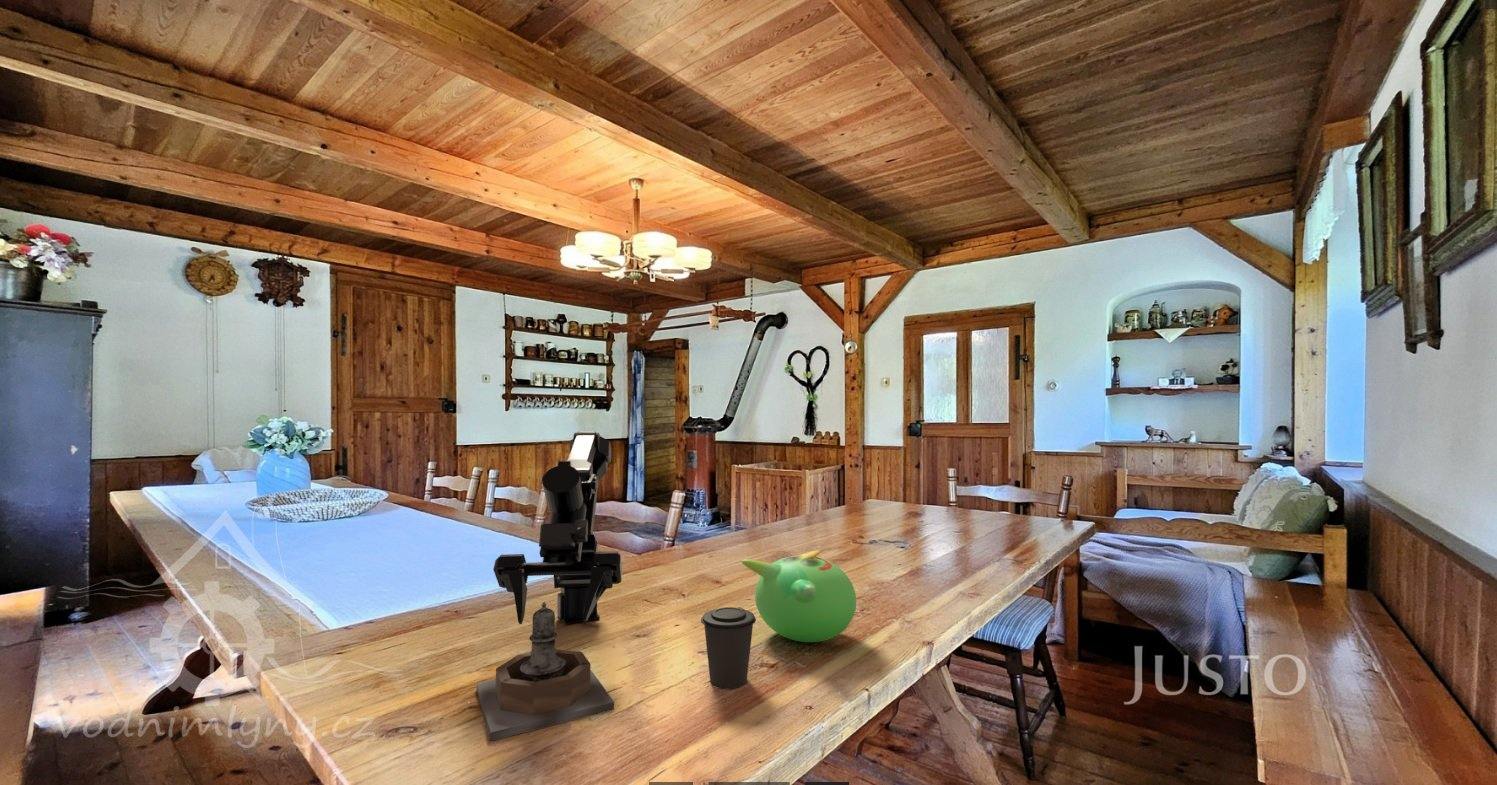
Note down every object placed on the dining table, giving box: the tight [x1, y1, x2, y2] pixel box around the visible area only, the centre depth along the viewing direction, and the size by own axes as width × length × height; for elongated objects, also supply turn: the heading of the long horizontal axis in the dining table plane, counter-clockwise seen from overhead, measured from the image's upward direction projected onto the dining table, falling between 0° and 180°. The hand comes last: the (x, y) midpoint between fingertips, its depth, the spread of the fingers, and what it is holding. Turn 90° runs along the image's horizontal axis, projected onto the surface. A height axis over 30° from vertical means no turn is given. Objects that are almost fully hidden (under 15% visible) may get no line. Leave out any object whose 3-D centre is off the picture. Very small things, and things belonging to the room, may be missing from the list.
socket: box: [476, 648, 615, 742], centre depth 80 cm, size 15×15×4 cm
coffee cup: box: [700, 606, 757, 690], centre depth 86 cm, size 8×8×10 cm
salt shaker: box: [520, 601, 566, 682], centre depth 80 cm, size 6×6×12 cm
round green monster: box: [741, 549, 857, 643], centre depth 103 cm, size 18×17×15 cm
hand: (552, 621), depth 87 cm, fingers open, 9 cm apart
